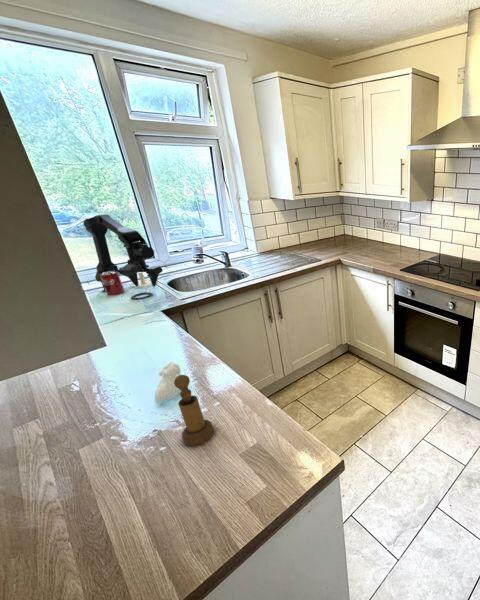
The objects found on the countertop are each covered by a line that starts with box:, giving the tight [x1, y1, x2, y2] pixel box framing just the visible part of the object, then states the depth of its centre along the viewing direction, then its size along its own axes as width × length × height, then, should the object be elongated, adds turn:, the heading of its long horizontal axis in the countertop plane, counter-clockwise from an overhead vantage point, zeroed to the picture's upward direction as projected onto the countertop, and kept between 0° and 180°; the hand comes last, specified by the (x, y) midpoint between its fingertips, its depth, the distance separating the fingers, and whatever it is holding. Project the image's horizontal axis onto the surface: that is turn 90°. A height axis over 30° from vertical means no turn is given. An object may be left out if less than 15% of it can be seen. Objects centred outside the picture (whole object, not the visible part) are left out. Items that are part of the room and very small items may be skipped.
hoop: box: [130, 291, 154, 301], centre depth 169 cm, size 9×9×2 cm
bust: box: [154, 361, 182, 405], centre depth 96 cm, size 12×8×11 cm
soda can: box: [100, 271, 126, 296], centre depth 172 cm, size 7×7×12 cm
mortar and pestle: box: [174, 374, 214, 447], centre depth 79 cm, size 7×6×18 cm
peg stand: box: [129, 272, 158, 288], centre depth 185 cm, size 9×9×8 cm
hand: (145, 286), depth 167 cm, fingers open, 9 cm apart
